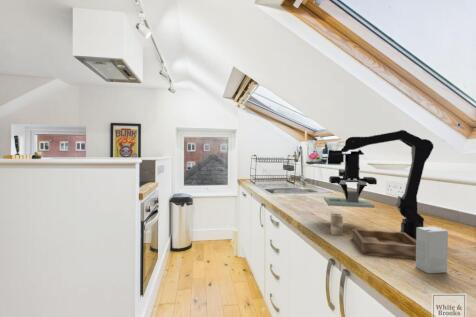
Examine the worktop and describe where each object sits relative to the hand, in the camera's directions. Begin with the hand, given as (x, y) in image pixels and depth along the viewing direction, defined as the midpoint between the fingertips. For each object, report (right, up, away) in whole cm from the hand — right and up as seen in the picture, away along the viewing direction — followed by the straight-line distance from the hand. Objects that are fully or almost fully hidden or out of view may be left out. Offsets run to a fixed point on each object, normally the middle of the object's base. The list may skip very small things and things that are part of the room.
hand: (351, 199), depth 104 cm
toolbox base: (0, -14, -23) cm, 27 cm away
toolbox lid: (-2, -2, 0) cm, 3 cm away
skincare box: (+4, -14, -38) cm, 41 cm away
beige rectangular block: (-10, -13, -8) cm, 19 cm away
